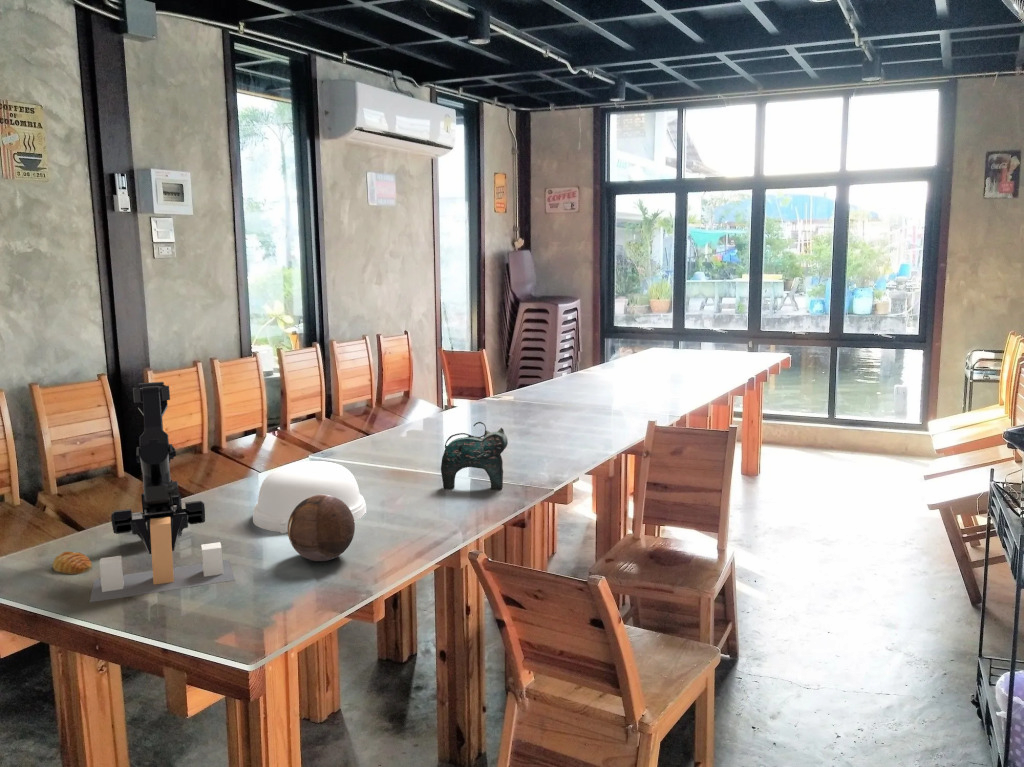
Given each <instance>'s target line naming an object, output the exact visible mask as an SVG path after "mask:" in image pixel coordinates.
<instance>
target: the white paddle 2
mask: <svg viewBox="0 0 1024 767" xmlns="http://www.w3.org/2000/svg"><path fill="white" fill-rule="evenodd" d="M200 546H201V559H202V560H201V561H202V563H203V573H204V577H206V576H212V575H219V574H223V551H222V550H223V548H222V544H221V541H218V542H212V543H205V544H204V543H203V544H200Z"/></svg>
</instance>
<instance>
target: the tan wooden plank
mask: <svg viewBox="0 0 1024 767" xmlns="http://www.w3.org/2000/svg"><path fill="white" fill-rule="evenodd" d="M150 533H151V540H150V544H151V562H152V563H151V564H152V567H151V568H152V571H153V584H162V583H170V582H174V573H173V568H174V561H173V560H174V558H173V551H172V537H171V519H170V517H164V518H154V519H150Z"/></svg>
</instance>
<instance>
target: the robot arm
mask: <svg viewBox="0 0 1024 767" xmlns="http://www.w3.org/2000/svg"><path fill="white" fill-rule="evenodd" d="M137 385H138V386H137V387H132V392H133V402H134V403H137V409H138V410H139V412H140V413H141V414H142V416H143V425H144V426H143V430H144V431H143V433H142V434H140V436H139V442H138V443H139V446H137V447H136V448H135V449H136V455H135V456H136V463H137V464H138V463H140V468H141V473H142V482H143V483H142V486H143V488H142V489H143V493H141V495H140V496H141V509H142V511H141V512H133V513H132V508H127V509H118V510H113V511H112V513H111V516H110V517H111V518H110V520H111V526H112V531H113V534H116V535H121V534H126V533H130V532H131V535H134V536H135V535H137V536H138V537H139V538H140V540H141V541H142V543H143V545H144V546H145V548H146V551H147V552H148V554H149V555H152V550H151V533H150V519H154V518H164V517H170V519H171V537H172V552H174V551H175V549H176V546H177V544H178V541H179V538H180V536H181V535H182V534H183V530H184V529H188V528H189V525H197V524H203V523H205V522H206V507H205V502H204V501H202V500H194V501H187V502H185V503H184V504H185V506H184V507H185V508H183V507H182V506H183V505H182V494H180V493H179V483H178V480H175V481H173V480H172V478H171V470H170V463H171V460H174V458H175V457H177V453H176V452H177V450H176V448H175V447H174V445H173V443H170V442H169V434H168V433H167V432H165V431H164V426H163V424H164V423H163V416H164V414H165V413H166V411H167V409H168V401H170V400H171V396H170V395H171V394H170V385H167V384H165V382H164V381H155V382H139V383H138V384H137ZM180 534H181V535H180Z"/></svg>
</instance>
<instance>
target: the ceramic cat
mask: <svg viewBox="0 0 1024 767" xmlns="http://www.w3.org/2000/svg"><path fill="white" fill-rule="evenodd" d="M477 424H482V425H483V426H484V434H483V435H481V436H477V435H472V434H469V433H466V432H461V433H455V434H452V435H450V436H449V437H448V438H447V440H446V441H445V443H444V450H443V454H442V456H441V463H440V464H441V465H440V473H441V474H440V475H441V479H442V480H441V481H442V487H443V489H444V490H454V489H455V486H456V485H455V481H456V480H455V479H456V475H457V473H458V472H459V471H461V470H463V469H466V468H473V469H479V470H480V469H481V470H484V471H485V473H486V474H487V475H488V477H489V482H490V490H502V488H503V485H504V468H503V466H504V465H503V462H504V461H503V458H502V455H501V454H502V453H503V452H504V451H505V450H506V448H507V447H508V443H509V442H508V437H507V435H506V434H505V430H504V428H502V427H500V428H499V430H497V431H491V432H490V431H489V430H487V427H486V424H485V423H484V422H482V421H477V422H475V423H474V424H473V427H475V426H476V425H477ZM461 435H464V436H465V435H466V436H465V437H458V438H456V439H453V440H452V441H450V439H452V438H453V437H456V436H461ZM448 441H450V442H449V443H448ZM447 443H448V444H447Z"/></svg>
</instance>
